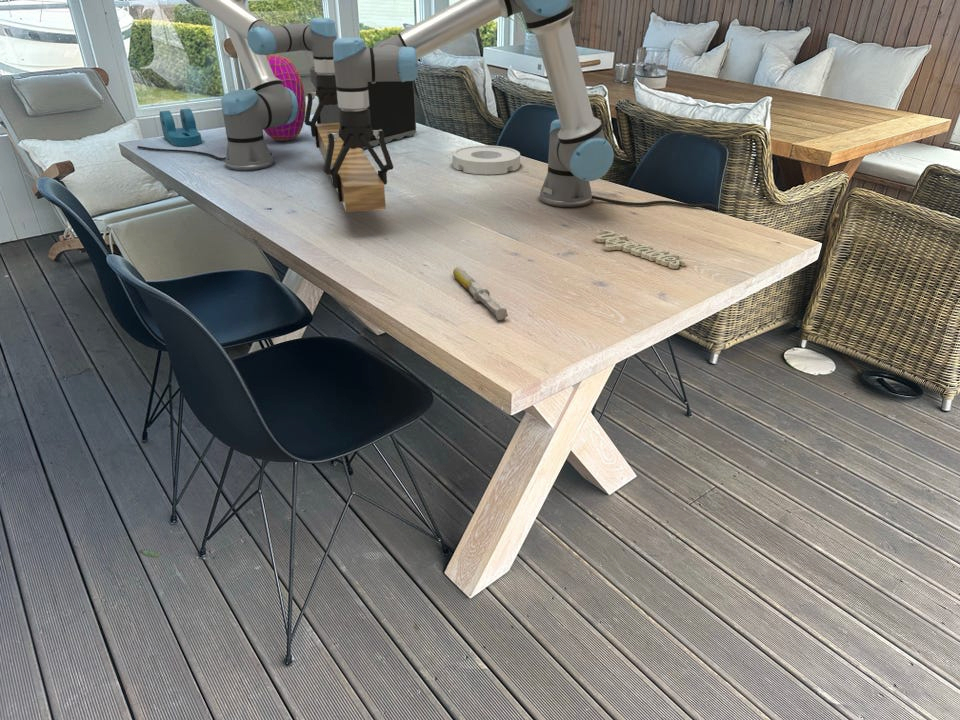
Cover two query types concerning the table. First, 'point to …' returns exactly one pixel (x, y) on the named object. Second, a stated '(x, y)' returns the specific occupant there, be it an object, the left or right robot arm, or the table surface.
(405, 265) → the table surface
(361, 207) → the wooden beam
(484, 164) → the ashtray
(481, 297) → the syringe
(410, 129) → the electronic device
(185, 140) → the camera mount
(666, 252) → the decorative sign
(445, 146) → the table surface
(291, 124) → the decorative egg
